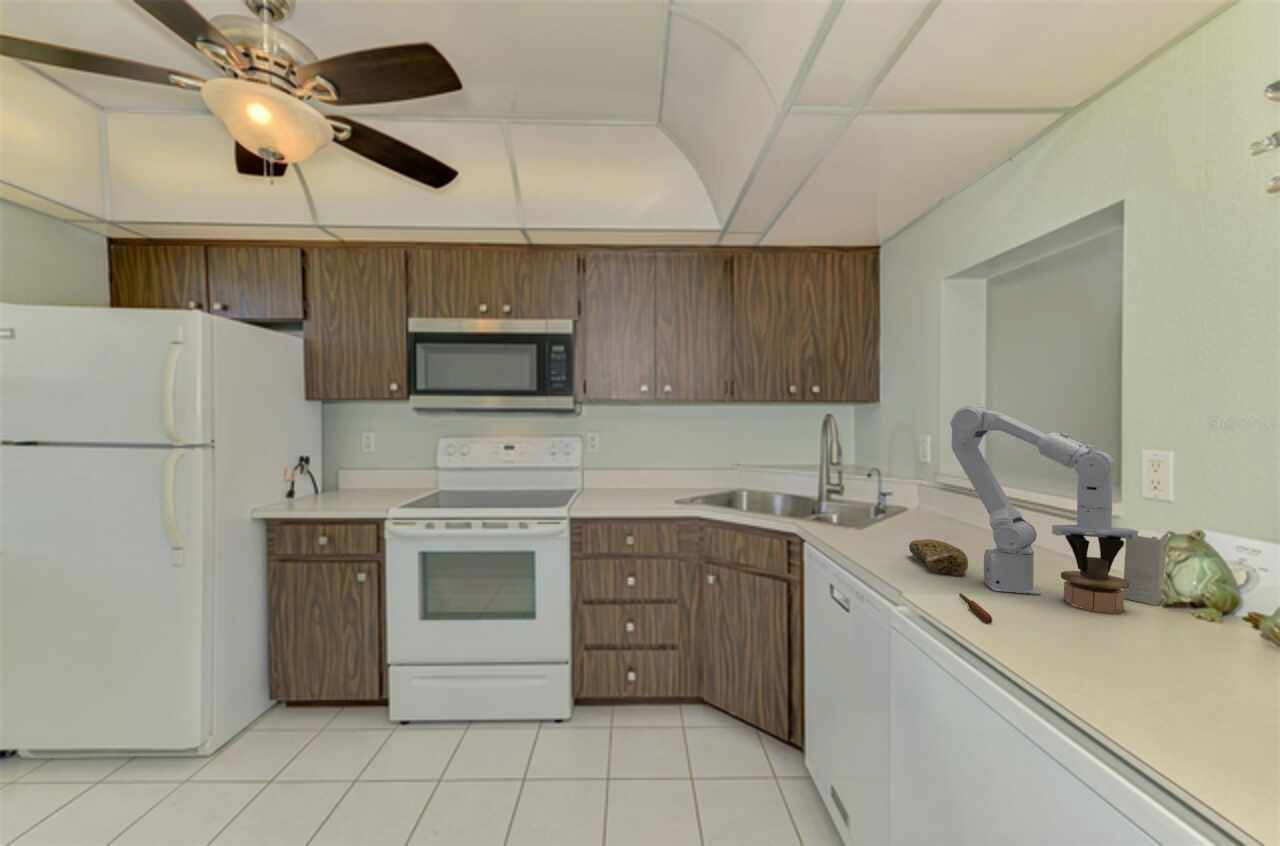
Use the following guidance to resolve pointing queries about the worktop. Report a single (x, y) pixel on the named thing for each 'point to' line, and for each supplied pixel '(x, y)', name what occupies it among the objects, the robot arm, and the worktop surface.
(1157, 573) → the skincare box
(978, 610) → the red handled screwdriver
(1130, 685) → the worktop surface
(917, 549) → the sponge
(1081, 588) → the bowl
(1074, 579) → the lid
